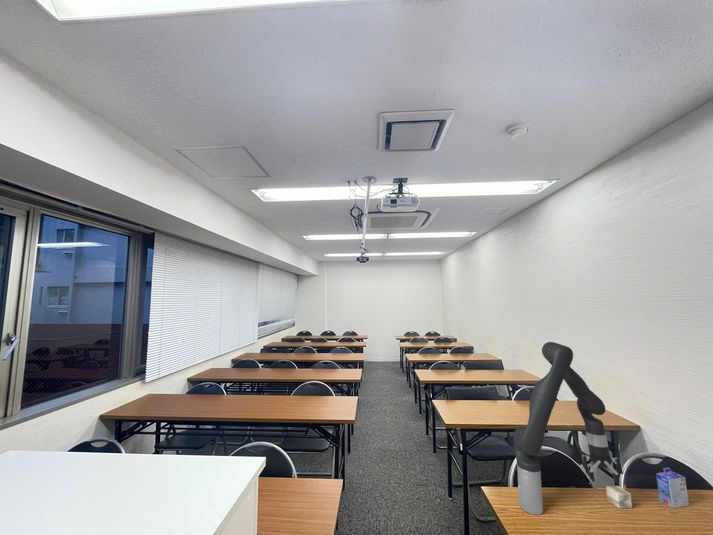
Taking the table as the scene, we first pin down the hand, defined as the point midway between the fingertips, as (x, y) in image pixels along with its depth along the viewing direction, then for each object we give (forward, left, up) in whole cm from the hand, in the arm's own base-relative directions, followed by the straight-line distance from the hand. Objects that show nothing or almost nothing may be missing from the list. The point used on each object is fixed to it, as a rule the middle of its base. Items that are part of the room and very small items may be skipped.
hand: (604, 481), depth 133 cm
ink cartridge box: (+28, +17, -11) cm, 35 cm away
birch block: (+6, +5, -11) cm, 13 cm away
